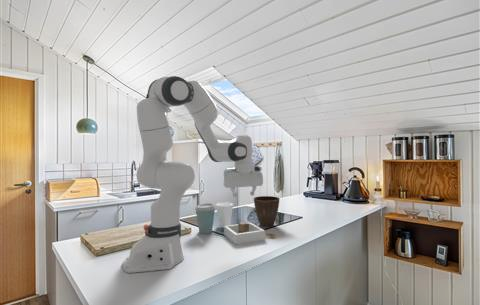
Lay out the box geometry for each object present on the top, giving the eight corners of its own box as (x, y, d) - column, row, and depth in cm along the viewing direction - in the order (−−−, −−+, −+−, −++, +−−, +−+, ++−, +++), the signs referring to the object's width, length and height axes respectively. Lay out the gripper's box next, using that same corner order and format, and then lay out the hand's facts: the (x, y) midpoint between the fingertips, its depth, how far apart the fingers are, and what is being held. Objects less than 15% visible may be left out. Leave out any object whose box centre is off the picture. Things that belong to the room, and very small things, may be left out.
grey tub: (235, 245, 117) (235, 234, 117) (224, 235, 131) (224, 226, 131) (264, 241, 123) (264, 230, 123) (250, 232, 137) (250, 222, 137)
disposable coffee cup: (203, 237, 128) (203, 207, 128) (191, 233, 136) (191, 204, 136) (219, 232, 136) (219, 204, 136) (206, 228, 143) (206, 201, 143)
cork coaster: (267, 240, 124) (267, 239, 124) (259, 235, 131) (259, 234, 131) (281, 238, 127) (281, 237, 127) (273, 233, 134) (273, 232, 134)
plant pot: (266, 231, 138) (266, 201, 138) (248, 225, 150) (248, 198, 150) (285, 226, 148) (285, 198, 147) (266, 221, 159) (266, 195, 159)
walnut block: (241, 238, 125) (241, 224, 125) (238, 236, 128) (238, 222, 128) (249, 237, 126) (249, 223, 126) (245, 235, 130) (245, 221, 130)
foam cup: (233, 224, 151) (233, 202, 151) (231, 229, 141) (231, 206, 141) (217, 224, 152) (217, 202, 152) (214, 229, 142) (214, 205, 142)
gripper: (226, 168, 120) (226, 198, 120) (264, 167, 128) (264, 195, 128) (221, 168, 126) (221, 196, 126) (258, 167, 134) (258, 193, 134)
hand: (243, 195), depth 127 cm, fingers open, 8 cm apart
